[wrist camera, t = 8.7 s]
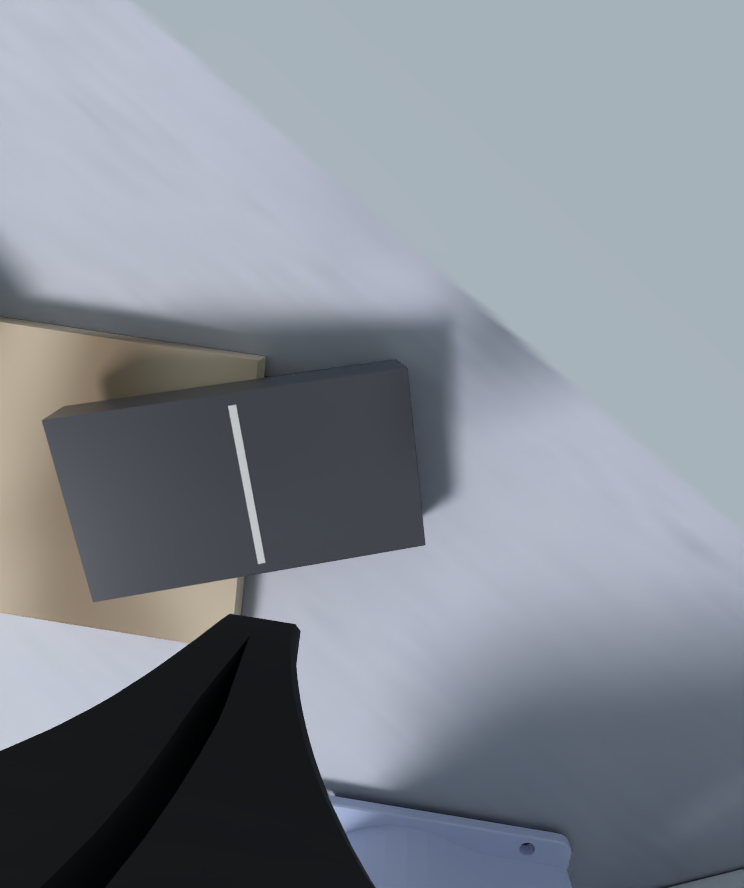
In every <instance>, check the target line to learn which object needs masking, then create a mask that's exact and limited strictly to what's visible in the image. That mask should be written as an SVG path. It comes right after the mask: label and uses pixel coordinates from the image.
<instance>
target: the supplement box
mask: <svg viewBox="0 0 744 888" xmlns="http://www.w3.org/2000/svg"><path fill="white" fill-rule="evenodd" d="M669 888H744V869H741V870H737V871H733V872H729V873H725V874H721V875H717V876H713V877H709V878H705V879H701V880H697V881H693V882H689V883H685V884H681V885H677V886H673V887H669Z"/></svg>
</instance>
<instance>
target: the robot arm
mask: <svg viewBox="0 0 744 888" xmlns="http://www.w3.org/2000/svg"><path fill="white" fill-rule="evenodd" d="M299 639H300V630H299V629H298V627H297V626H296V625H295V624H290V623H284V622H278V621H272V620H266V619H260V618H253V617H247V616H241V615H235V614H228V615H227V616H225V617H224V618H223V619H221V620H220V621H218V622H217V623H216V624H214V625H213V626H212V627H211V628H209V629H208V630H207V631H205V632H204V633H203V634H202V635H200V636H199V637H198V638H196V639H195V640H194V641H192V642H191V643H190V644H188V645H187V646H186V647H184V648H183V649H182V650H180V651H179V652H178V653H176V654H175V655H173V656H172V657H171V658H169V659H168V660H166V661H165V662H164V663H162V664H161V665H159V666H158V667H157V668H155V669H154V670H152V671H151V672H149V673H148V674H146V675H145V676H143V677H142V678H140V679H139V680H137V681H136V682H134V683H132V684H131V685H129V686H128V687H126V688H125V689H123V690H122V691H120V692H118V693H117V694H115V695H114V696H112V697H110V698H109V699H107V700H105V701H103V702H102V703H100V704H98V705H96V706H94V707H93V708H91V709H89V710H87V711H85V712H83V713H81V714H79V715H77V716H75V717H74V718H72V719H70V720H68V721H66V722H64V723H62V724H60V725H58V726H56V727H54V728H52V729H50V730H48V731H45V732H43V733H41V734H38V735H36V736H34V737H32V738H29V739H27V740H25V741H22V742H20V743H18V744H15V745H13V746H11V747H9V748H6V749H4V750H2V751H0V888H572V886H571V882H570V878H569V875H568V871H567V869H568V865H569V862H570V858H571V847H570V844H569V841H568V839H567V838H566V837H565V836H564V835H561V834H558V833H553V832H547V831H541V830H535V829H529V828H523V827H517V826H511V825H505V824H499V823H493V822H487V821H481V820H475V819H469V818H463V817H457V816H451V815H445V814H439V813H433V812H427V811H420V810H414V809H408V808H402V807H396V806H390V805H384V804H378V803H372V802H366V801H360V800H354V799H348V798H342V797H336V796H330V795H328V794H327V791H326V788H325V786H324V783H323V781H322V778H321V775H320V772H319V770H318V767H317V764H316V761H315V758H314V755H313V751H312V748H311V744H310V741H309V737H308V733H307V729H306V725H305V721H304V716H303V711H302V706H301V701H300V694H299V687H298V680H297V669H296V662H297V654H298V647H299ZM524 843H530V844H528V845H522V844H524Z"/></svg>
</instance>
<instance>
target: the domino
mask: <svg viewBox="0 0 744 888" xmlns="http://www.w3.org/2000/svg"><path fill="white" fill-rule="evenodd" d="M42 424H43V427H44V431H45V434H46V438H47V441H48V445H49V448H50V452H51V456H52V459H53V463H54V466H55V470H56V473H57V477H58V480H59V484H60V487H61V491H62V495H63V498H64V502H65V505H66V509H67V512H68V516H69V519H70V523H71V526H72V530H73V534H74V537H75V541H76V544H77V548H78V551H79V555H80V558H81V562H82V566H83V569H84V573H85V576H86V580H87V583H88V587H89V590H90V594H91V597H92V601H93V602H99V601H104V600H110V599H116V598H122V597H128V596H133V595H139V594H145V593H151V592H157V591H162V590H168V589H174V588H180V587H185V586H191V585H197V584H203V583H209V582H214V581H220V580H226V579H232V578H238V577H243V576H249V575H255V574H261V573H267V572H272V571H278V570H284V569H290V568H296V567H301V566H307V565H313V564H319V563H325V562H330V561H336V560H342V559H348V558H354V557H359V556H365V555H371V554H377V553H382V552H388V551H394V550H400V549H406V548H411V547H417V546H423V545H425V537H424V527H423V517H422V507H421V498H420V488H419V478H418V468H417V458H416V449H415V439H414V429H413V419H412V409H411V400H410V390H409V380H408V370H407V368H406V367H405V366H404V365H403V364H401V363H400V362H399V361H398V360H396V359H395V360H388V361H381V362H373V363H366V364H359V365H352V366H345V367H338V368H331V369H324V370H317V371H309V372H302V373H295V374H288V375H281V376H274V377H267V378H260V379H253V380H246V381H238V382H231V383H224V384H217V385H210V386H203V387H196V388H189V389H182V390H175V391H167V392H160V393H153V394H146V395H139V396H132V397H125V398H118V399H111V400H103V401H96V402H89V403H82V404H75V405H68V406H63V407H62V408H60V409H58V410H57V411H55V412H54V413H52V414H51V415H49V416H48V417H46V418H44V419H43V420H42Z"/></svg>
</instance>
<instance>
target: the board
mask: <svg viewBox="0 0 744 888" xmlns="http://www.w3.org/2000/svg"><path fill="white" fill-rule="evenodd" d="M265 365H266V357H265V356H259V355H252V354H245V353H239V352H232V351H225V350H219V349H212V348H205V347H199V346H192V345H185V344H179V343H172V342H165V341H159V340H152V339H145V338H139V337H132V336H125V335H119V334H112V333H105V332H99V331H92V330H85V329H79V328H72V327H65V326H59V325H52V324H45V323H38V322H32V321H25V320H18V319H12V318H5V317H0V613H4V614H11V615H17V616H23V617H29V618H35V619H42V620H48V621H54V622H60V623H66V624H73V625H79V626H85V627H91V628H97V629H104V630H110V631H116V632H122V633H128V634H135V635H141V636H147V637H153V638H159V639H166V640H172V641H178V642H184V643H191V642H192V641H194V640H195V639H196V638H198V637H199V636H200V635H202V634H203V633H204V632H205V631H207V630H208V629H209V628H211V627H212V626H213V625H214V624H216V623H217V622H218V621H220V620H221V619H223V618H224V617H225V616H227V615H228V614H235V615H241V610H242V600H243V590H244V579H245V576H243V577H238V578H232V579H226V580H220V581H214V582H209V583H203V584H197V585H191V586H185V587H180V588H174V589H168V590H162V591H157V592H151V593H145V594H139V595H133V596H128V597H122V598H116V599H110V600H104V601H99V602H93V601H92V597H91V594H90V590H89V587H88V583H87V580H86V576H85V573H84V569H83V566H82V562H81V558H80V555H79V551H78V548H77V544H76V541H75V537H74V534H73V530H72V526H71V523H70V519H69V516H68V512H67V509H66V505H65V502H64V498H63V495H62V491H61V487H60V484H59V480H58V477H57V473H56V470H55V466H54V463H53V459H52V456H51V452H50V448H49V445H48V441H47V438H46V434H45V431H44V427H43V424H42V420H43V419H44V418H46V417H48V416H49V415H51V414H52V413H54V412H55V411H57V410H58V409H60V408H62V407H63V406H68V405H75V404H82V403H89V402H96V401H103V400H111V399H118V398H125V397H132V396H139V395H146V394H153V393H160V392H167V391H175V390H182V389H189V388H196V387H203V386H210V385H217V384H224V383H231V382H238V381H246V380H253V379H260V378H264V375H265Z"/></svg>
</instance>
